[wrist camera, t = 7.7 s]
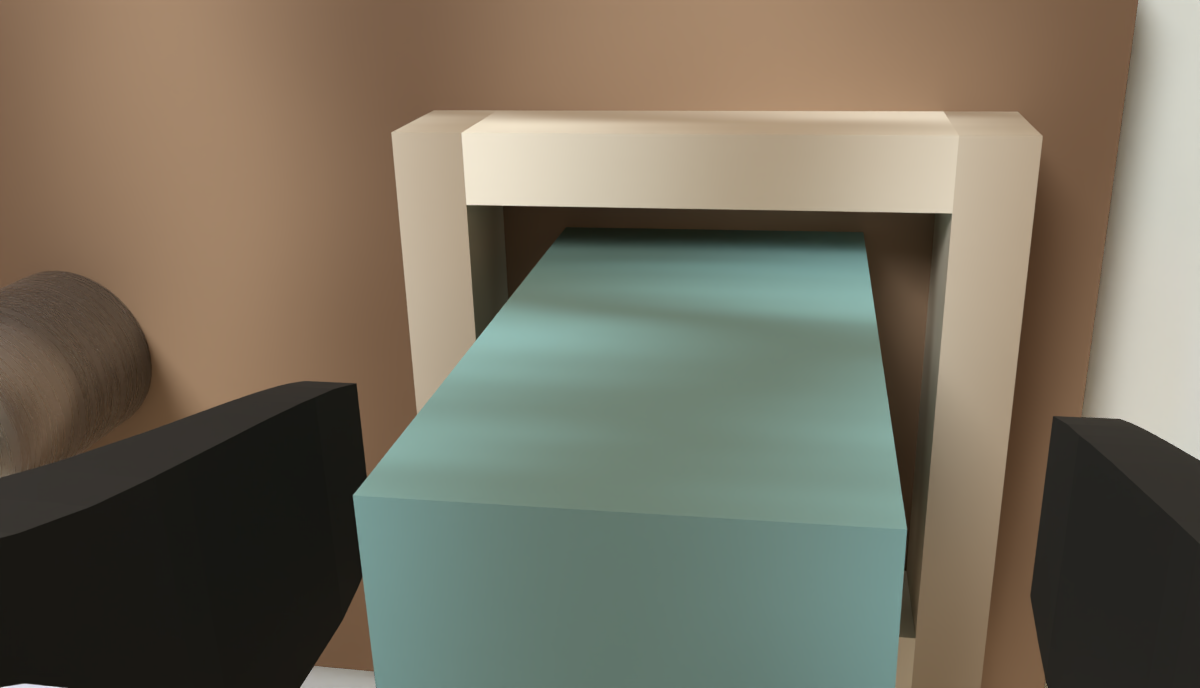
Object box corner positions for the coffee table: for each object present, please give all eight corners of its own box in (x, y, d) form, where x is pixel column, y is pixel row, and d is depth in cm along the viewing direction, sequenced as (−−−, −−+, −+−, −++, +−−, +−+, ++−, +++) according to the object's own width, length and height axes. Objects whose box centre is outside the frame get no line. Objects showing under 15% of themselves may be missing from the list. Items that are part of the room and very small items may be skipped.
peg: (576, 485, 15) (403, 903, 9) (566, 227, 14) (352, 496, 8) (848, 501, 15) (875, 964, 8) (863, 232, 13) (907, 529, 7)
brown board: (-72, 592, 19) (-192, 682, 17) (-240, -18, 16) (-419, -6, 14) (1025, 686, 16) (1059, 815, 14) (1120, -46, 13) (1187, -35, 10)
